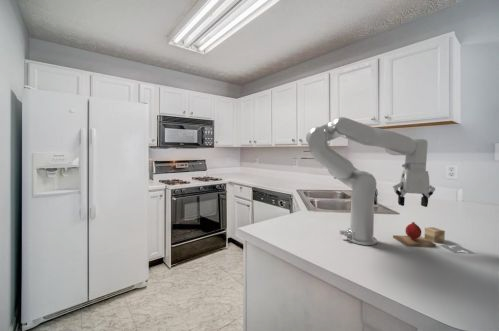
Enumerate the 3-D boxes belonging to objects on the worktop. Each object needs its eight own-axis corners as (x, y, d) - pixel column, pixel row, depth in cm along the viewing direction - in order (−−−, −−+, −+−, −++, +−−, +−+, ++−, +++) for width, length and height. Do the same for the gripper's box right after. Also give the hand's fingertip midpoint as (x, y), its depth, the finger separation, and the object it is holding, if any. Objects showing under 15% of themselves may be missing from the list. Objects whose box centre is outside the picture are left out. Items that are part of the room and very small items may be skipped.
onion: (406, 236, 106) (406, 219, 106) (421, 239, 102) (422, 221, 102) (404, 239, 102) (405, 222, 101) (420, 243, 98) (421, 224, 98)
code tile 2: (432, 242, 101) (432, 242, 101) (422, 238, 107) (422, 237, 107) (446, 243, 101) (446, 242, 101) (436, 238, 107) (436, 237, 107)
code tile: (454, 253, 90) (454, 253, 90) (439, 245, 98) (439, 245, 98) (476, 254, 90) (476, 253, 90) (459, 246, 98) (459, 245, 98)
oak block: (434, 242, 101) (434, 231, 101) (424, 238, 106) (424, 227, 106) (444, 241, 102) (444, 230, 102) (434, 237, 107) (434, 227, 107)
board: (406, 246, 97) (406, 243, 97) (393, 237, 107) (393, 235, 107) (435, 247, 97) (435, 244, 97) (419, 238, 107) (419, 235, 106)
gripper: (399, 167, 97) (397, 206, 98) (442, 168, 96) (439, 208, 97) (390, 166, 105) (387, 203, 106) (429, 167, 104) (427, 204, 104)
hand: (412, 205), depth 101 cm, fingers open, 9 cm apart
